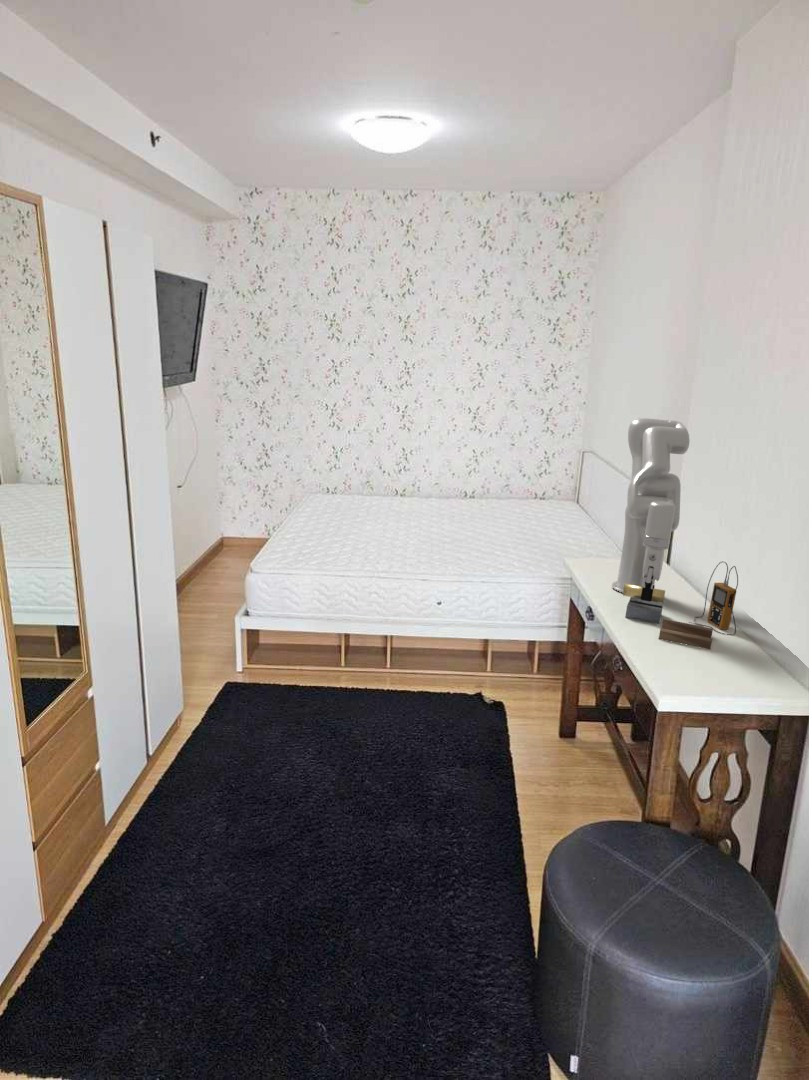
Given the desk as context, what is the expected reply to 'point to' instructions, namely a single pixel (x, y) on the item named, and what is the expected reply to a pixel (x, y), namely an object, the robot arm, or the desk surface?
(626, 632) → the desk surface
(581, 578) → the desk surface
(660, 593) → the axle
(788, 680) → the desk surface
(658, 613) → the v block
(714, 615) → the multimeter
